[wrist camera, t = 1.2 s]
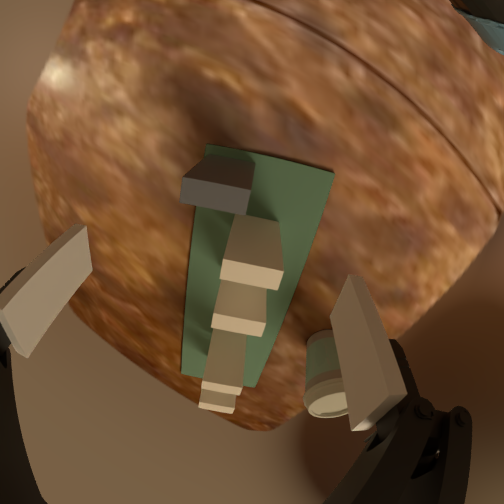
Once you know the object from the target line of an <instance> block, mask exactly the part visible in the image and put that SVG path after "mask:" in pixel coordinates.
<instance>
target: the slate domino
mask: <svg viewBox="0 0 504 504" xmlns="http://www.w3.org/2000/svg"><path fill="white" fill-rule="evenodd" d="M255 165H256V163H253V162H249V161H244V160H239V159H234V158H229V157H223V156H218V155H212V154H208V155H207V156H206V157H205V158H204V159H203V160H201V161H200V162H199V163H198V164H197V165H196V166H194V167H193V168H192V169H191V170H190V171H189V172H188V173H186V174H185V175H184V176H183V177H182V185H181V193H180V201H179V203H184V204H190V205H195V206H200V207H205V208H210V209H215V210H220V211H225V212H230V213H234V214H239V215H244V216H245V215H246V210H247V206H248V201H249V197H250V193H251V187H252V182H253V176H254V170H255Z"/></svg>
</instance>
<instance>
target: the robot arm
mask: <svg viewBox="0 0 504 504" xmlns="http://www.w3.org/2000/svg"><path fill="white" fill-rule="evenodd" d="M449 1H450V2H451V3H452V4H451V5H452V6H453V8H454V9H455V10H456V11H457V12H458V13H459V14H461V15H463V17H464V18H465V19H466V20H467V21H468V22H469V24H470V25H471V26H472V27H473V28H474V30H475V31H476V32H477V33H478V35H479V36H480V37H481V38H482V40H483V41H484V42H485V43H486V44H487V45H488V46H490V47H491V48H492V49H493V50H495V51H496V52H498V53H500V54H502V55H504V0H449ZM91 272H92V264H91V258H90V251H89V244H88V236H87V227H86V226H85V225H80V224H74V225H73V226H72V227H71V228H69V229H68V230H67V231H66V232H65V233H63V234H62V235H61V236H60V237H59V238H57V239H56V240H55V241H54V242H53V243H52V244H51V245H49V246H48V247H47V248H46V249H45V250H44V251H43V252H42V253H41V254H40V255H39V256H37V257H36V258H35V259H34V260H33V261H32V262H31V263H30V264H29V265H28V266H27V267H25V268H23V269H21V270H19V271H18V272H16V273H15V274H14V275H13V276H12V277H11V278H10V280H8V281H7V282H6V283H5V286H3V287H2V288H1V289H0V504H47V502H45V500H44V499H43V498H42V496H41V494H40V491H39V489H38V486H37V484H36V481H35V478H34V475H33V473H32V469H31V466H30V463H29V460H28V456H27V453H26V449H25V446H24V442H23V438H22V434H21V429H20V424H19V420H18V414H17V409H16V402H15V395H14V388H13V380H12V368H11V353H10V349H9V348H8V347H9V345H10V344H12V345H13V347H14V348H15V350H16V352H18V353H19V354H21V355H23V356H24V357H26V358H28V357H29V356H30V354H31V352H32V351H33V349H34V348H35V346H36V345H37V343H38V342H39V340H40V339H41V337H42V336H43V335H44V333H45V331H46V330H47V329H48V327H49V326H50V324H51V323H52V322H53V320H54V319H55V318H56V316H57V315H58V314H59V312H60V311H61V309H62V308H63V307H64V305H65V304H66V303H67V302H68V300H69V299H70V298H71V296H72V295H73V294H74V293H75V291H76V290H77V289H78V288H79V286H80V285H81V284H82V283H83V281H84V280H85V279H86V278H87V276H88V275H89V274H90V273H91ZM330 320H331V325H332V329H333V334H334V339H335V343H336V348H337V353H338V358H339V363H340V368H341V373H342V379H343V384H344V390H345V396H346V402H347V408H348V414H349V420H350V426H351V431H357V430H368V429H370V428H371V427H372V426H373V425H374V424H375V423H376V426H377V431H375V432H374V433H373V434H372V435H370V436H369V437H368V438H367V439H366V440H365V441H364V442H367V441H369V442H368V443H367V445H366V446H365V448H364V449H363V451H362V452H361V454H360V455H359V457H358V459H357V460H356V461H355V463H354V464H353V466H352V467H351V468H350V470H349V471H348V473H347V474H346V475H345V477H344V478H343V479H342V480H341V482H340V483H339V484H338V486H337V487H336V488H335V489H334V491H333V492H332V493H331V494H330V495H329V497H328V498H327V499H326V500H325V501H324V503H323V504H464V502H465V497H466V491H467V485H468V478H469V470H470V459H471V445H472V419H471V416H470V413H469V412H468V411H467V410H466V409H465V408H464V407H461V406H457V407H454V408H453V409H452V410H451V411H450V412H448V413H447V412H442V411H438V410H435V408H434V407H433V405H432V403H431V402H429V401H428V400H427V399H425V398H423V397H420V395H419V392H418V389H417V386H416V383H415V380H414V377H413V375H412V372H411V369H410V368H409V364H408V361H407V360H406V356H405V353H404V351H403V348H402V347H401V346H400V345H399V343H398V342H397V341H396V340H395V339H388V337H387V334H386V331H385V329H384V326H383V324H382V321H381V319H380V316H379V314H378V311H377V309H376V307H375V304H374V302H373V300H372V297H371V295H370V293H369V290H368V288H367V286H366V283H365V281H364V279H363V277H360V276H355V275H348V277H347V280H346V282H345V284H344V286H343V289H342V291H341V293H340V295H339V297H338V300H337V302H336V304H335V306H334V308H333V310H332V312H331V314H330ZM438 452H439V456H438Z"/></svg>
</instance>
